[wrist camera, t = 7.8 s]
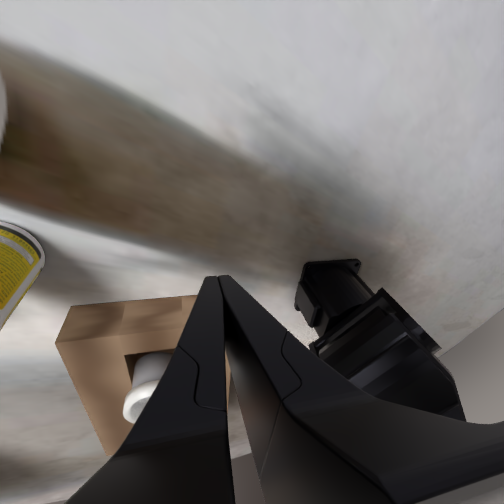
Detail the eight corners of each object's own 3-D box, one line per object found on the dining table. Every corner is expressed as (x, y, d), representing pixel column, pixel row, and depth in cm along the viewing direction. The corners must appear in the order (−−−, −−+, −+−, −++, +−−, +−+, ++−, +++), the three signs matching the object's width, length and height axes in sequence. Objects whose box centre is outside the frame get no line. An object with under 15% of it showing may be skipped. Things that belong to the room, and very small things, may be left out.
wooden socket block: (227, 292, 27) (234, 321, 24) (221, 399, 38) (226, 430, 35) (71, 306, 24) (54, 342, 20) (113, 420, 34) (106, 456, 31)
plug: (182, 345, 24) (184, 387, 21) (185, 376, 27) (186, 418, 24) (125, 353, 23) (117, 398, 20) (133, 385, 26) (128, 430, 23)
